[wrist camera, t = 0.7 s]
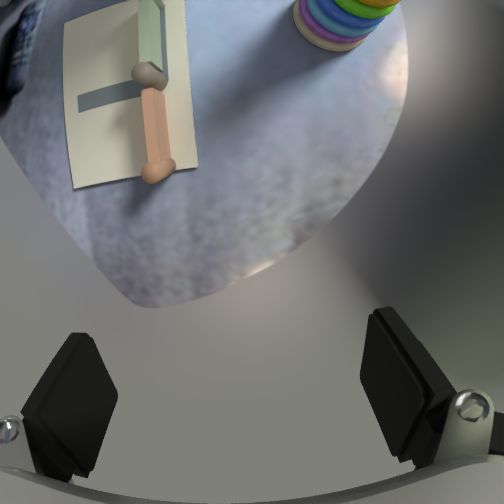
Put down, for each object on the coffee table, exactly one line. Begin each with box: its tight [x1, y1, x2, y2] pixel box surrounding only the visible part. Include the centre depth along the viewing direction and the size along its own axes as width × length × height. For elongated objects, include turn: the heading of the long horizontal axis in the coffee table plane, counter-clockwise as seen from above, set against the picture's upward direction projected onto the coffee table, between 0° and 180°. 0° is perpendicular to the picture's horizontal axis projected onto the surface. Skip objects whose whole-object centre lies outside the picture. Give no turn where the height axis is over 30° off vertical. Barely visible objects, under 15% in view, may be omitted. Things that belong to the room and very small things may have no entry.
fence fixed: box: [138, 0, 164, 72], centre depth 20 cm, size 9×2×6 cm, turn 5°
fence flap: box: [131, 62, 176, 184], centre depth 24 cm, size 10×2×6 cm, turn 5°
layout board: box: [63, 0, 199, 188], centre depth 25 cm, size 20×14×1 cm
